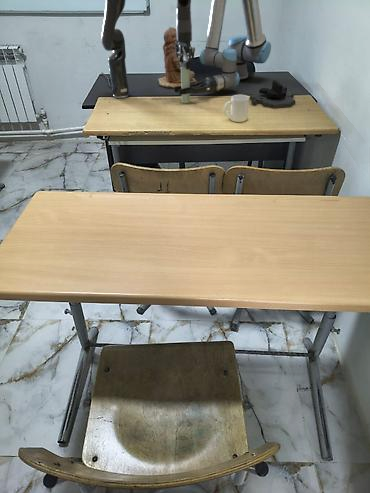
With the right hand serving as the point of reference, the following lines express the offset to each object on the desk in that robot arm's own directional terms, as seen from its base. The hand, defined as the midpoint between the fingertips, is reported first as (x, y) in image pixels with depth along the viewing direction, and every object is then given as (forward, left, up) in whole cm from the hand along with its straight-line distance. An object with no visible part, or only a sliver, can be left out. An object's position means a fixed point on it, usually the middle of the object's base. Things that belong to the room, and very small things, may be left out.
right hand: (176, 91), depth 189 cm
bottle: (-5, +2, -7) cm, 9 cm away
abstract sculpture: (-30, +42, -7) cm, 53 cm away
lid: (-5, +2, +13) cm, 14 cm away
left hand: (-5, +2, +10) cm, 12 cm away
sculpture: (-32, -24, -7) cm, 40 cm away
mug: (+3, +38, -7) cm, 39 cm away
